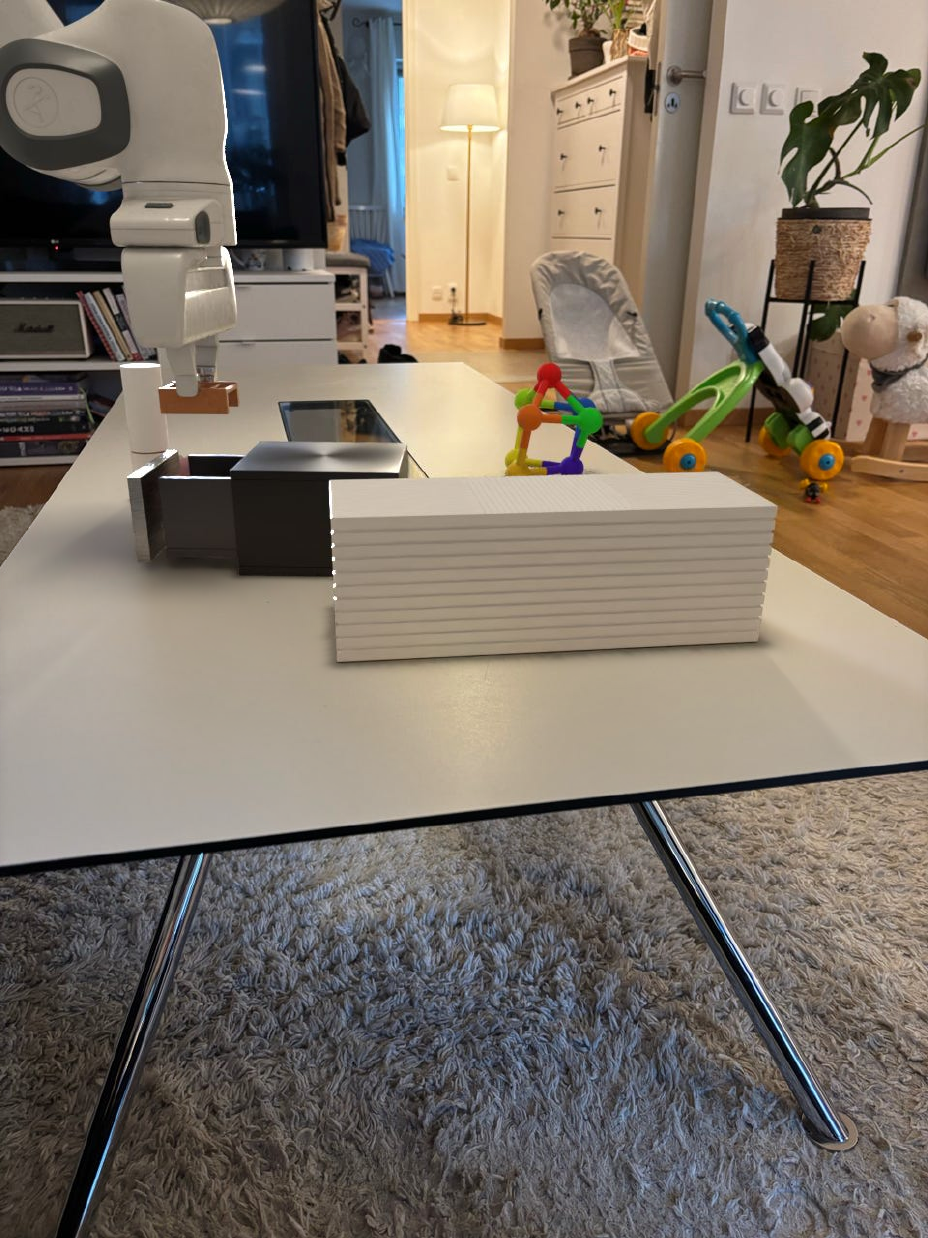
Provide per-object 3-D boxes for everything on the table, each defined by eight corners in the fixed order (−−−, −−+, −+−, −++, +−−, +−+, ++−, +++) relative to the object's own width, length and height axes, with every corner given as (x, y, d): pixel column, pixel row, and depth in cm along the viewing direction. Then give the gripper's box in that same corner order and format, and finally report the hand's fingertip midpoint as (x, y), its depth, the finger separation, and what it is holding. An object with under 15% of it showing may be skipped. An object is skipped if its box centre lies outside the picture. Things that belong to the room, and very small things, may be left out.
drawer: (124, 561, 82) (112, 477, 79) (162, 525, 93) (154, 449, 90) (286, 564, 82) (281, 479, 79) (306, 527, 93) (302, 451, 90)
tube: (164, 503, 104) (149, 368, 98) (129, 501, 105) (112, 367, 99) (181, 494, 108) (167, 363, 102) (147, 492, 109) (131, 362, 103)
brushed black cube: (238, 575, 82) (229, 470, 78) (266, 533, 94) (259, 441, 90) (400, 577, 82) (398, 472, 78) (408, 535, 94) (407, 442, 90)
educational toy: (612, 498, 113) (625, 376, 106) (510, 501, 111) (516, 377, 104) (578, 459, 126) (588, 349, 119) (487, 461, 124) (491, 349, 117)
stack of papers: (703, 592, 79) (718, 471, 75) (757, 642, 70) (778, 505, 66) (334, 607, 75) (329, 479, 71) (336, 662, 65) (330, 517, 61)
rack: (160, 413, 81) (157, 388, 80) (175, 405, 85) (172, 381, 84) (228, 414, 81) (226, 388, 80) (239, 405, 85) (237, 381, 84)
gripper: (179, 225, 86) (194, 374, 92) (100, 220, 67) (125, 408, 73) (246, 226, 86) (257, 375, 92) (185, 220, 67) (204, 409, 73)
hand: (198, 390), depth 82 cm, fingers closed on rack, 4 cm apart
